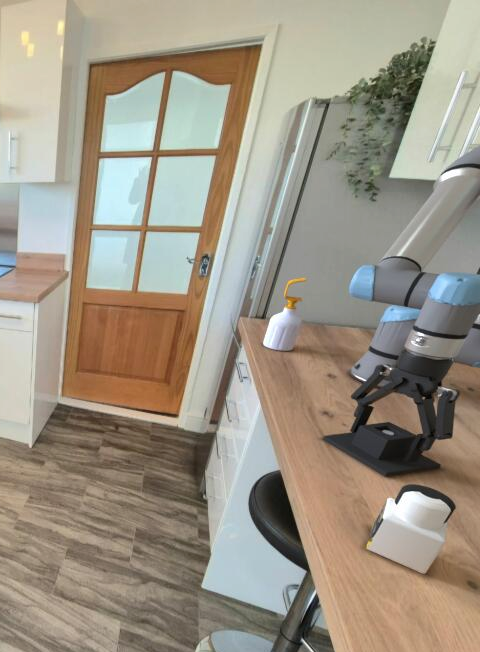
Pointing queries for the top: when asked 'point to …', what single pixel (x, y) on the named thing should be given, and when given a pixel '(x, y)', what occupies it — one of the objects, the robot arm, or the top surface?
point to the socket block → (383, 440)
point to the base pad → (382, 465)
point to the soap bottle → (284, 324)
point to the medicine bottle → (412, 527)
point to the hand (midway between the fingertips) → (381, 445)
